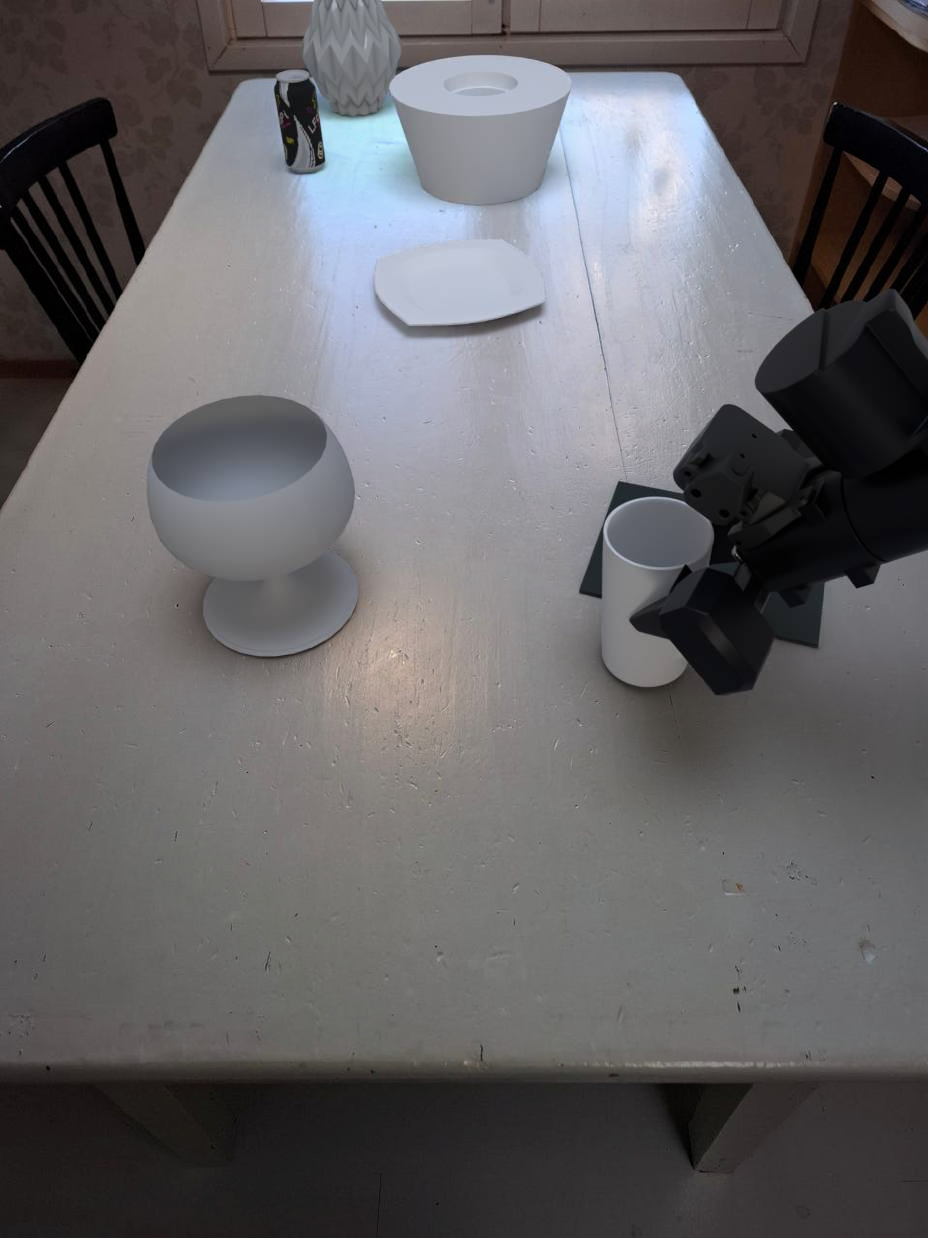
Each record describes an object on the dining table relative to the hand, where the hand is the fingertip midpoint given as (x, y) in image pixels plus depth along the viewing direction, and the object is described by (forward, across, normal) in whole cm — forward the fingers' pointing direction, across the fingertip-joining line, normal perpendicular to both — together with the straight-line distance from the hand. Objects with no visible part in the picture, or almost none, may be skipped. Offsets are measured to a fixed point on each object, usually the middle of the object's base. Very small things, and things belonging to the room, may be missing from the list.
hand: (653, 590), depth 57 cm
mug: (+4, 0, +6) cm, 7 cm away
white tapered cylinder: (+41, -70, -34) cm, 88 cm away
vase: (+63, -86, -59) cm, 122 cm away
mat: (+5, -12, +6) cm, 15 cm away
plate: (+32, -40, -24) cm, 57 cm away
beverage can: (+58, -62, -53) cm, 100 cm away
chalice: (+24, +8, -15) cm, 29 cm away
